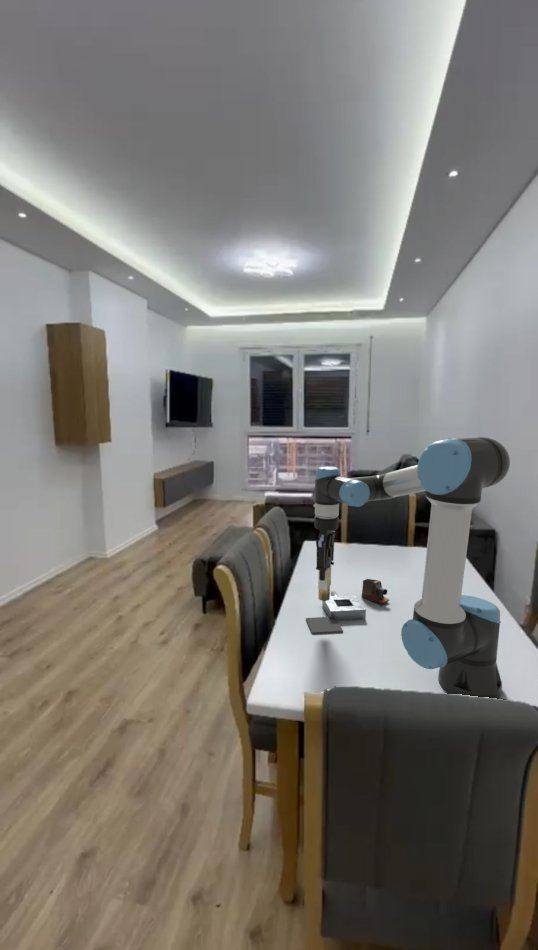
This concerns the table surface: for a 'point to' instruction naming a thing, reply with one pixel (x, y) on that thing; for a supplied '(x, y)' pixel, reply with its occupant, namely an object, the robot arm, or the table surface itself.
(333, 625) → the pad
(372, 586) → the electronic device
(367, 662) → the table surface
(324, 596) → the gold and black cylinder
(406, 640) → the robot arm
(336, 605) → the block
